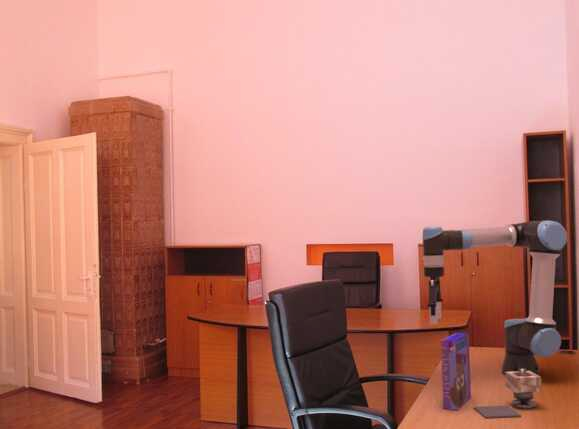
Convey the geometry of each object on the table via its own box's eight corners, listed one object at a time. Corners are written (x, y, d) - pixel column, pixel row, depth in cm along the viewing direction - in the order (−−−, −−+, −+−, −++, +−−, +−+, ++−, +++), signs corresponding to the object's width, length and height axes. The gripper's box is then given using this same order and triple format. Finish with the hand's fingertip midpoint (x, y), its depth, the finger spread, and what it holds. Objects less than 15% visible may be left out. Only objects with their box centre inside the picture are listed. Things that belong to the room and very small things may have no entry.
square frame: (530, 384, 217) (529, 370, 217) (541, 391, 208) (541, 377, 208) (505, 385, 217) (504, 371, 217) (515, 392, 208) (515, 378, 208)
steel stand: (529, 402, 216) (528, 365, 217) (540, 408, 208) (538, 370, 209) (507, 403, 216) (506, 366, 216) (517, 409, 208) (516, 371, 208)
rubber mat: (507, 407, 211) (507, 405, 211) (520, 417, 200) (520, 415, 200) (473, 408, 211) (473, 406, 211) (485, 418, 200) (485, 416, 200)
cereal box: (456, 411, 209) (454, 341, 209) (443, 409, 211) (441, 340, 212) (470, 398, 223) (468, 332, 224) (458, 396, 226) (455, 331, 226)
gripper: (428, 264, 248) (430, 315, 248) (419, 269, 225) (421, 326, 224) (446, 263, 246) (448, 316, 245) (440, 268, 222) (442, 326, 222)
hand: (435, 321), depth 235 cm, fingers open, 13 cm apart
